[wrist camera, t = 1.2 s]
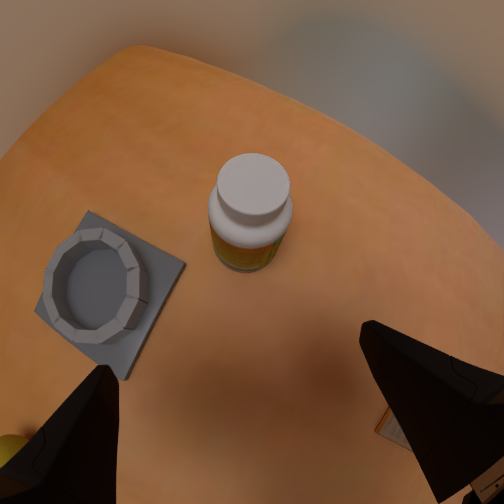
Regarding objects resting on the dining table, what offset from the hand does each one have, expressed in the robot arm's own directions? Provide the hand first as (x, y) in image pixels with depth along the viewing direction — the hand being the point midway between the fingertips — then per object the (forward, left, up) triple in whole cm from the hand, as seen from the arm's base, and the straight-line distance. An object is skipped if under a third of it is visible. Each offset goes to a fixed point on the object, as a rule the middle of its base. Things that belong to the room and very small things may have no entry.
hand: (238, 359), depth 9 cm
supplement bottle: (+3, -8, -13) cm, 16 cm away
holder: (+12, +1, -13) cm, 18 cm away
